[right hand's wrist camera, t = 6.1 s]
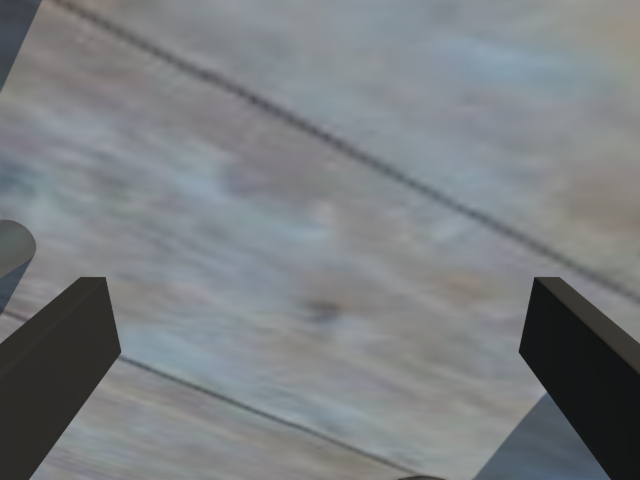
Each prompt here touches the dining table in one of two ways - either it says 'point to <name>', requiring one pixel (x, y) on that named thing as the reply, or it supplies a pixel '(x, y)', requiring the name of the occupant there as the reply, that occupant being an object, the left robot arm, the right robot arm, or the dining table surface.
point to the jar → (14, 246)
